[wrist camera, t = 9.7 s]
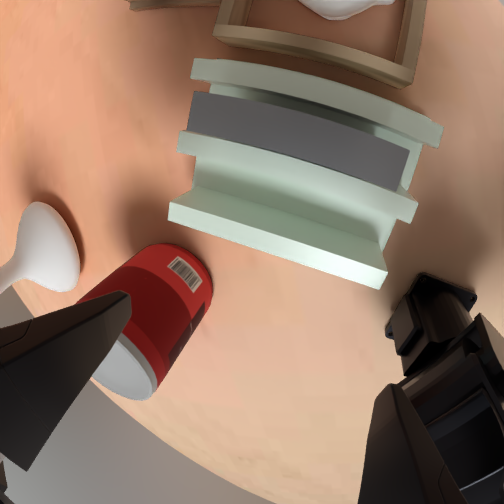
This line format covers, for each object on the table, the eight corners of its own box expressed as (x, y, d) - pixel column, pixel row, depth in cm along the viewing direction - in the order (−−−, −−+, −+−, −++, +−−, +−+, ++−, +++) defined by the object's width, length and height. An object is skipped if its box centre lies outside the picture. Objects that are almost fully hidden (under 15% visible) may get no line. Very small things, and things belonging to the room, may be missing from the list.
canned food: (135, 233, 24) (45, 298, 15) (216, 249, 23) (140, 341, 13) (144, 301, 28) (78, 373, 18) (215, 322, 26) (161, 415, 17)
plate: (375, 138, 15) (410, 150, 8) (368, 162, 16) (395, 192, 9) (250, 101, 16) (194, 91, 9) (245, 125, 17) (186, 130, 10)
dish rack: (425, 118, 14) (455, 118, 10) (372, 262, 20) (381, 301, 15) (222, 61, 16) (189, 46, 12) (194, 204, 21) (160, 228, 17)
